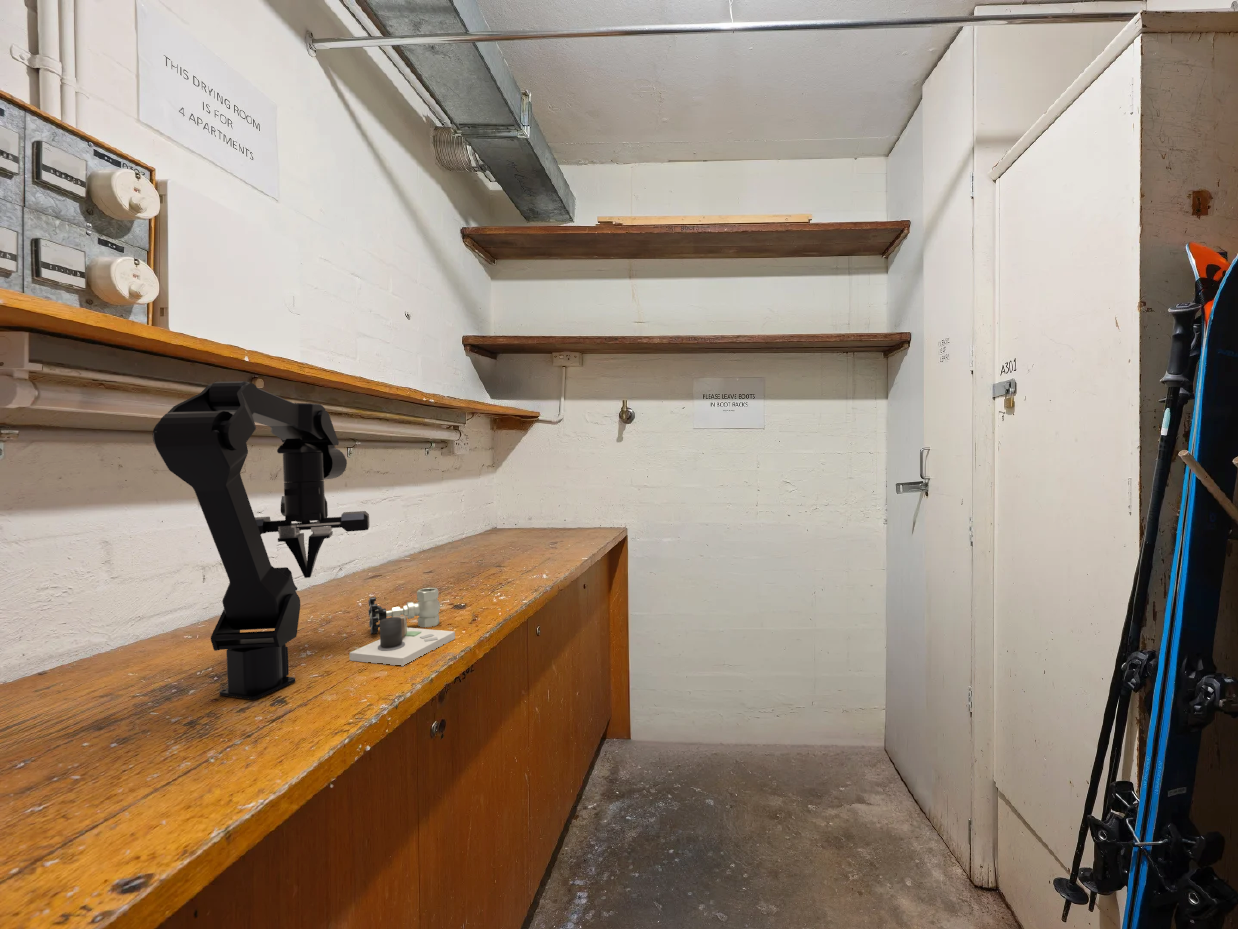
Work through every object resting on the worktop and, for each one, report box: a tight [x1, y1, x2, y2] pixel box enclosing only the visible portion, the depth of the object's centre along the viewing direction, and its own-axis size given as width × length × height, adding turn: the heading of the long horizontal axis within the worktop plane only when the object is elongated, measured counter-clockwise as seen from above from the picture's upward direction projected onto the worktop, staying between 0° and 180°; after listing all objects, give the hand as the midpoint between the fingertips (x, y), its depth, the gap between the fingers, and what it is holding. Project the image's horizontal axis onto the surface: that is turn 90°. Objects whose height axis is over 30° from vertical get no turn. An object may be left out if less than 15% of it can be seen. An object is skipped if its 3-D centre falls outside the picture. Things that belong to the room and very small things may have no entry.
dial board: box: [348, 627, 456, 667], centre depth 92 cm, size 13×10×1 cm
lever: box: [379, 615, 408, 647], centre depth 92 cm, size 7×3×4 cm, turn 7°
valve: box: [368, 587, 441, 635], centre depth 103 cm, size 7×7×12 cm
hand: (307, 577), depth 92 cm, fingers closed
